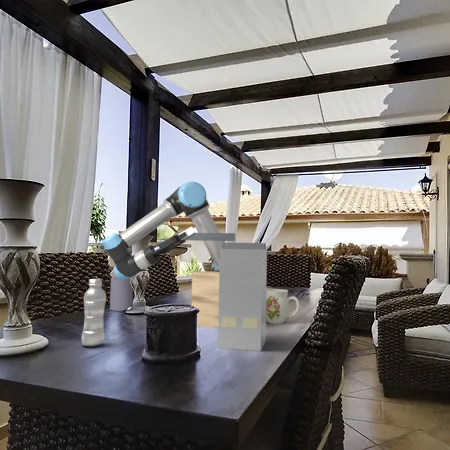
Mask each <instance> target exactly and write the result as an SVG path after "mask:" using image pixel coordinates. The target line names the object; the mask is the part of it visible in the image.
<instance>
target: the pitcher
mask: <svg viewBox="0 0 450 450" xmlns="http://www.w3.org/2000/svg"><path fill="white" fill-rule="evenodd" d="M288 294H289V290H288V289H283V288H282V289H280V288H271V287H269V288H268V287H266V323H268V324H273V325H274V324H275V325H281V324H284V322H285V320H286V319H290V318H293V317H295V316H297V314H298V313H299V311H300V301H299V299H298V298H297V297H296V296H288ZM291 300H294V301H295V302H296V309H295V311H294V312H293V313H292V312H291V313H290V314H289V311H290V304H289V302H290V301H291Z"/></svg>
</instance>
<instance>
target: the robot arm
mask: <svg viewBox="0 0 450 450" xmlns="http://www.w3.org/2000/svg"><path fill="white" fill-rule="evenodd" d="M209 208H210V203H209V202H208V200H207V191H206V188H205V187H204V186H203V185H202V184H201V183H199V182H196V181H188V182H184V183H183V184H181V185H180V186H179V187H178V188H176V189H175V191H173V192H172V193H171V194H170V195H169V196H168V197H167V198H165V199H164V200H163V203H162V204H161V205H159V206H158V207H156V208H155V209H153V210H152V211H150V212H149V213H148V214H146V215H145V216H144V217H142V218H141V219H139V220H137V221H136V222H134V223H133V224H132V225H130V226H129V227H128V228H126V229H125V230H124V231H122V232H121V233H118V232H114V233H112V234H111V235H109V236H107V237H106V238H104V239H103V240H101V244H102V246H103V248H104V250H105V252H106V254H107V255H108V256H109V257H110V258H111V260H112V261H113V262H114V264H115V265H114V266H113V269H112V271H113V273H114V276H115V278H117V279H119V280H121V281H124V280H126V279H128V278H133V277H134V276H136V275H137V274H139V273H140V272H143V271H144V270H145V271H147V270H148V268H149V267H151V266H152V265H155V264H157V263H158V262H160V261H161V255H166V254H167V253H169V252H171V251H172V250H174V249H176V248H178V247H179V246H181V245H182V244H184V243H186V241H187V240H183V239H185V238H187V237H188V236H190V235H192V234H194V233H221V232H220V230H219V228H218V226H217V225H216V222H215V220H214V219H213V217H212V215H211V213H210V211H209ZM182 213H184V215H185V217H186V218H188V219H191V221H192V223H193V225H194V227H193V226H190V227H188V228H187V229H185V230H183V231H182V232H181V233H180V234H178V235H176V236H175V235H172V236H170V237H169V238H167V239H165V240H164V241H161V242H160V243H158V244H155V245H149V246H147V247H144V249H141V250H140V251H138V252H136V253H135V254H134V255H132V254H131V252H130V251H129V248H131V247H132V246H134V245H135V244H136V243H137V242H139V241H140V240H142V239H144V237H146V236H148V235H149V234H151V233H152V232H154V231H155V230H156V229H158V227H160V226H162V225H163V224H164V223H166V222H168V221H169V220H170V219H171V218H173V217H175V218H176V217H178V216H180V215H181V214H182ZM180 239H181V240H180ZM202 242H203V244H204V245H205V248H206V249H207V251H208V254H209V255H210V257H211V259H212V261H213V263H212V264H211V269H210V272H219V267H220V249H222V242H223V243H226V241H202Z"/></svg>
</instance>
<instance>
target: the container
mask: <svg viewBox="0 0 450 450" xmlns="http://www.w3.org/2000/svg"><path fill="white" fill-rule="evenodd" d="M133 290H134V289H132V287H131V284H130V278H128V279H126V280H124V281H121V280H119V279H117V278H116V277H110V292H109V293H110V294H109V295H110V296H109V310H110V311H111V310H113V311H112V312H124V311H123V310H126V309H128V308H129V307H131V306H132V307H133V294H134V291H133Z"/></svg>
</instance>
